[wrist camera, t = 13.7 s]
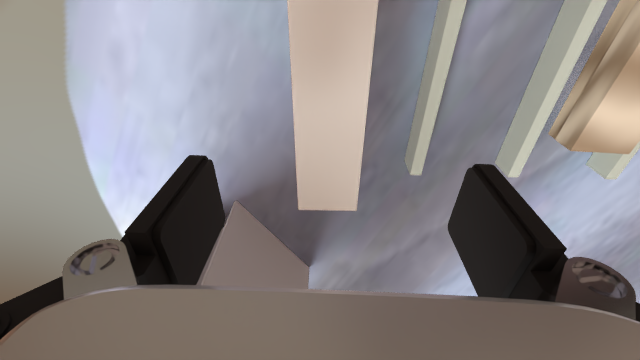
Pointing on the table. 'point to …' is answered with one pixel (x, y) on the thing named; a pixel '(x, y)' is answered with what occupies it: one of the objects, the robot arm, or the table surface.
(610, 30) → the offcut lower
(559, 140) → the offcut upper
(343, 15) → the cream rectangular block
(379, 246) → the table surface
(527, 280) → the robot arm
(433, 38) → the rack
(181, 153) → the table surface
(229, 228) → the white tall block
